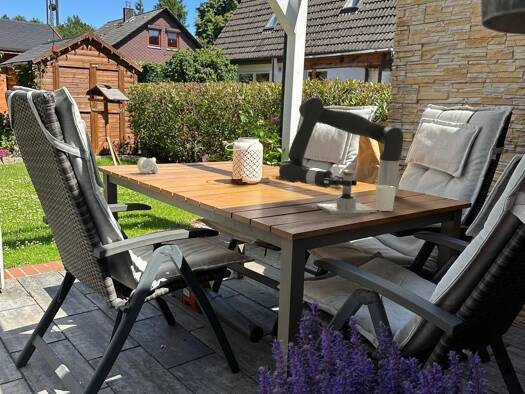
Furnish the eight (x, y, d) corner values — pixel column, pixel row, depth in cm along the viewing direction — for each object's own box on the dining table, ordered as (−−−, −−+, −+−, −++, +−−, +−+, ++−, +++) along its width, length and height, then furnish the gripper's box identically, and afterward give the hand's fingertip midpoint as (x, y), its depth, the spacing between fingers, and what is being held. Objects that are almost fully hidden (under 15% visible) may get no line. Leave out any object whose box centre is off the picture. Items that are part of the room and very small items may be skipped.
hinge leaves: (359, 205, 212) (360, 193, 211) (375, 212, 199) (376, 200, 198) (316, 206, 206) (317, 194, 205) (330, 214, 193) (331, 201, 192)
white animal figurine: (140, 174, 278) (140, 159, 277) (134, 172, 288) (134, 156, 287) (159, 174, 284) (159, 158, 282) (153, 171, 294) (153, 156, 292)
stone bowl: (267, 174, 296) (269, 159, 295) (303, 176, 307) (305, 162, 306) (287, 180, 274) (288, 163, 273) (324, 182, 285) (326, 166, 284)
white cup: (385, 213, 199) (387, 188, 197) (370, 209, 205) (372, 185, 203) (397, 211, 204) (399, 187, 202) (382, 207, 210) (384, 184, 208)
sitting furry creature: (335, 184, 268) (336, 162, 266) (346, 187, 261) (347, 164, 259) (322, 185, 263) (323, 163, 261) (332, 188, 256) (334, 165, 254)
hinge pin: (348, 198, 205) (350, 169, 202) (353, 200, 200) (356, 171, 198) (338, 198, 203) (340, 169, 201) (343, 200, 199) (345, 171, 197)
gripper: (309, 170, 204) (344, 175, 193) (329, 168, 214) (363, 173, 203) (308, 188, 206) (342, 194, 194) (328, 185, 216) (362, 191, 204)
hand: (353, 183), depth 199 cm, fingers closed on hinge pin, 3 cm apart
